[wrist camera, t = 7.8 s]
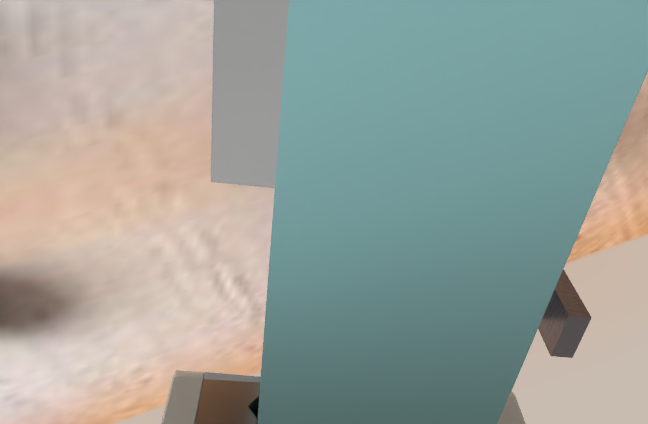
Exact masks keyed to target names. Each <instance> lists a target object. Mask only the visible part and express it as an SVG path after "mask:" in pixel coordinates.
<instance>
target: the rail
mask: <svg viewBox="0 0 648 424" xmlns="http://www.w3.org/2000/svg"><path fill="white" fill-rule="evenodd" d="M647 72H648V0H289V8H288V22H287V35H286V48H285V62H284V75H283V88H282V102H281V115H280V128H279V142H278V155H277V168H276V182H275V195H274V208H273V222H272V235H271V249H270V262H269V275H268V289H267V302H266V315H265V329H264V342H263V355H262V369H261V382H260V395H259V409H258V422H257V424H497V423H498V421H499V419H500V416H501V414H502V412H503V409H504V407H505V404H506V402H507V400H508V397H509V395H510V393H511V390H512V388H513V386H514V383H515V381H516V379H517V376H518V374H519V372H520V369H521V367H522V365H523V362H524V360H525V358H526V355H527V353H528V350H529V348H530V346H531V344H532V341H533V339H534V336H535V334H536V332H537V329H538V327H539V325H540V322H541V320H542V318H543V315H544V313H545V311H546V308H547V306H548V304H549V301H550V299H551V297H552V294H553V292H554V290H555V287H556V285H557V283H558V280H559V278H560V276H561V273H562V271H563V268H564V266H565V264H566V261H567V259H568V257H569V254H570V252H571V250H572V247H573V245H574V243H575V240H576V238H577V236H578V233H579V231H580V229H581V226H582V224H583V222H584V219H585V217H586V215H587V212H588V210H589V208H590V205H591V203H592V200H593V198H594V196H595V193H596V191H597V189H598V186H599V184H600V182H601V179H602V177H603V175H604V172H605V170H606V168H607V165H608V163H609V161H610V158H611V156H612V154H613V151H614V149H615V147H616V144H617V142H618V140H619V137H620V135H621V132H622V130H623V128H624V125H625V123H626V121H627V118H628V116H629V114H630V111H631V109H632V107H633V104H634V102H635V100H636V97H637V95H638V93H639V90H640V88H641V86H642V83H643V81H644V79H645V76H646V74H647Z"/></svg>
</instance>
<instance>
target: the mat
mask: <svg viewBox="0 0 648 424" xmlns="http://www.w3.org/2000/svg"><path fill="white" fill-rule="evenodd" d="M288 8H289V0H214V39H213V93H212V148H211V182H217V183H228V184H238V185H248V186H258V187H268V188H275V182H276V168H277V155H278V142H279V128H280V115H281V102H282V88H283V75H284V62H285V48H286V35H287V22H288Z"/></svg>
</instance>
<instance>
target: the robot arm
mask: <svg viewBox="0 0 648 424" xmlns="http://www.w3.org/2000/svg"><path fill="white" fill-rule="evenodd" d="M260 380H261V377H255V376H243V375H231V374H219V373H207V372H191V371H176V373H175V375H174V377H173V379H172V383H171V387H170V391H169V395H168V399H167V403H166V407H165V411H164V415H163V419H162V423H161V424H257V421H258V408H259V394H260ZM497 424H525V421H524V418H523V416H522V413H521V410H520V408H519V405H518V402H517V400H516V397H515V395H514V394H513V392H512V391H511V393H510V395H509V397H508V400H507V402H506V404H505V407H504V409H503V412H502V414H501V416H500V419H499V421H498V423H497Z"/></svg>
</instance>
